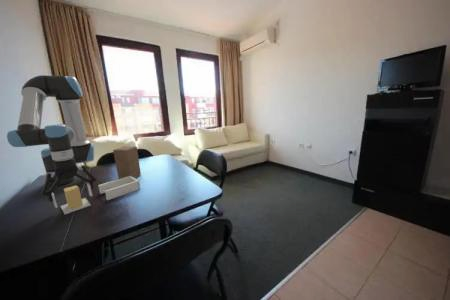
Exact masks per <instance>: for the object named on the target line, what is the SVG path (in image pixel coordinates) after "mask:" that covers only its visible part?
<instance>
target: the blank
mask: <svg viewBox="0 0 450 300" xmlns="http://www.w3.org/2000/svg"><path fill="white" fill-rule="evenodd" d="M63 192H64V196H65V199H66V204H68V207H69V208H70V209H73V208H76V207H79V206H82V205H83V203H82V199H83V198H82V196H81V191H80V187H79V186H78V185H73V186H70V187H69V186H68V187H65V188H63Z"/></svg>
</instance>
